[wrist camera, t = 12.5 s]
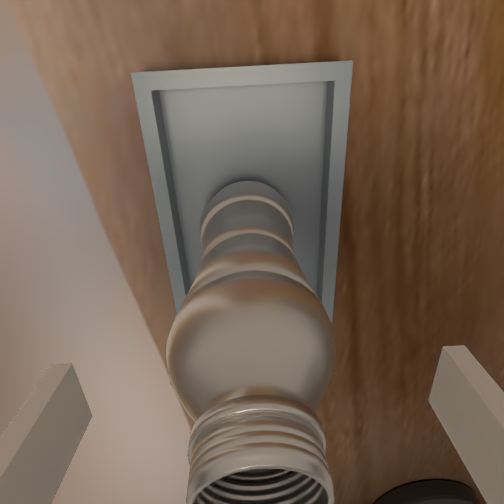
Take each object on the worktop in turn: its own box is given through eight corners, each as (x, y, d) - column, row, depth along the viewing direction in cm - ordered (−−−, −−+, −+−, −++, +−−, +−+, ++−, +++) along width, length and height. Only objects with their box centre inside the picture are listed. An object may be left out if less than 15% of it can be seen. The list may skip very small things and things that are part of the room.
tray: (324, 306, 32) (331, 328, 29) (186, 313, 32) (180, 335, 29) (340, 62, 22) (353, 60, 20) (144, 72, 22) (130, 72, 20)
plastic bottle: (303, 226, 27) (435, 521, 9) (232, 266, 28) (220, 590, 10) (262, 155, 24) (329, 372, 6) (185, 203, 25) (60, 492, 8)
